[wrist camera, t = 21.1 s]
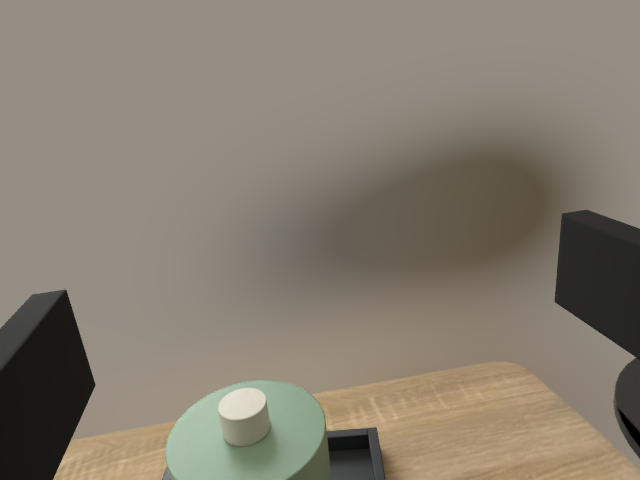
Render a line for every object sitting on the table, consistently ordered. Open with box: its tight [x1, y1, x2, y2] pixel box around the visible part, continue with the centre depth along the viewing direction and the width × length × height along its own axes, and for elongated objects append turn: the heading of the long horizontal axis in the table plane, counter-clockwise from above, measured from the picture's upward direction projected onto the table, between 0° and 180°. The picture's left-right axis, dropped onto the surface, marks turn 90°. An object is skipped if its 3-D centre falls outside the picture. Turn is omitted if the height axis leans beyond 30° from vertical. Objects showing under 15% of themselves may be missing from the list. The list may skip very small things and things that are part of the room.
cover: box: [165, 380, 332, 480], centre depth 31 cm, size 10×10×12 cm
